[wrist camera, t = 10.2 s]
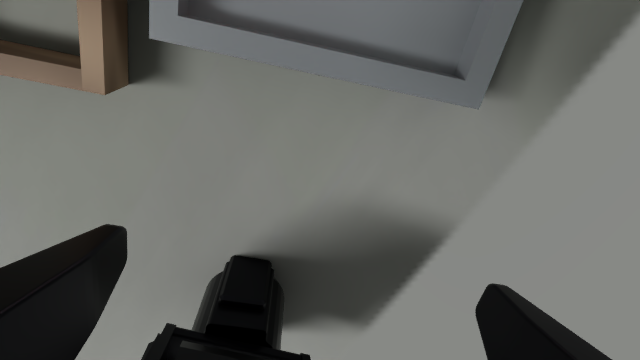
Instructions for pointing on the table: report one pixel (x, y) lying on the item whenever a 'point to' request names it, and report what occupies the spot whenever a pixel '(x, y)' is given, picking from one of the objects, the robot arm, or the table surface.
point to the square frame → (95, 52)
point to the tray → (354, 39)
